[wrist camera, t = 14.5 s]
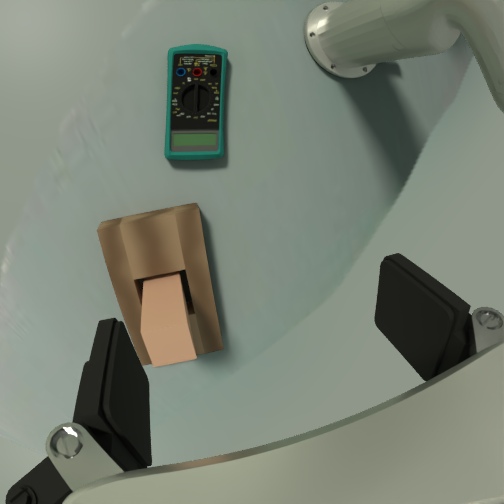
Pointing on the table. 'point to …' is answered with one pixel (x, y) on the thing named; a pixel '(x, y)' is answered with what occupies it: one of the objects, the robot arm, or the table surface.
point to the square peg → (166, 320)
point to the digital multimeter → (195, 102)
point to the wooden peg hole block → (161, 268)
